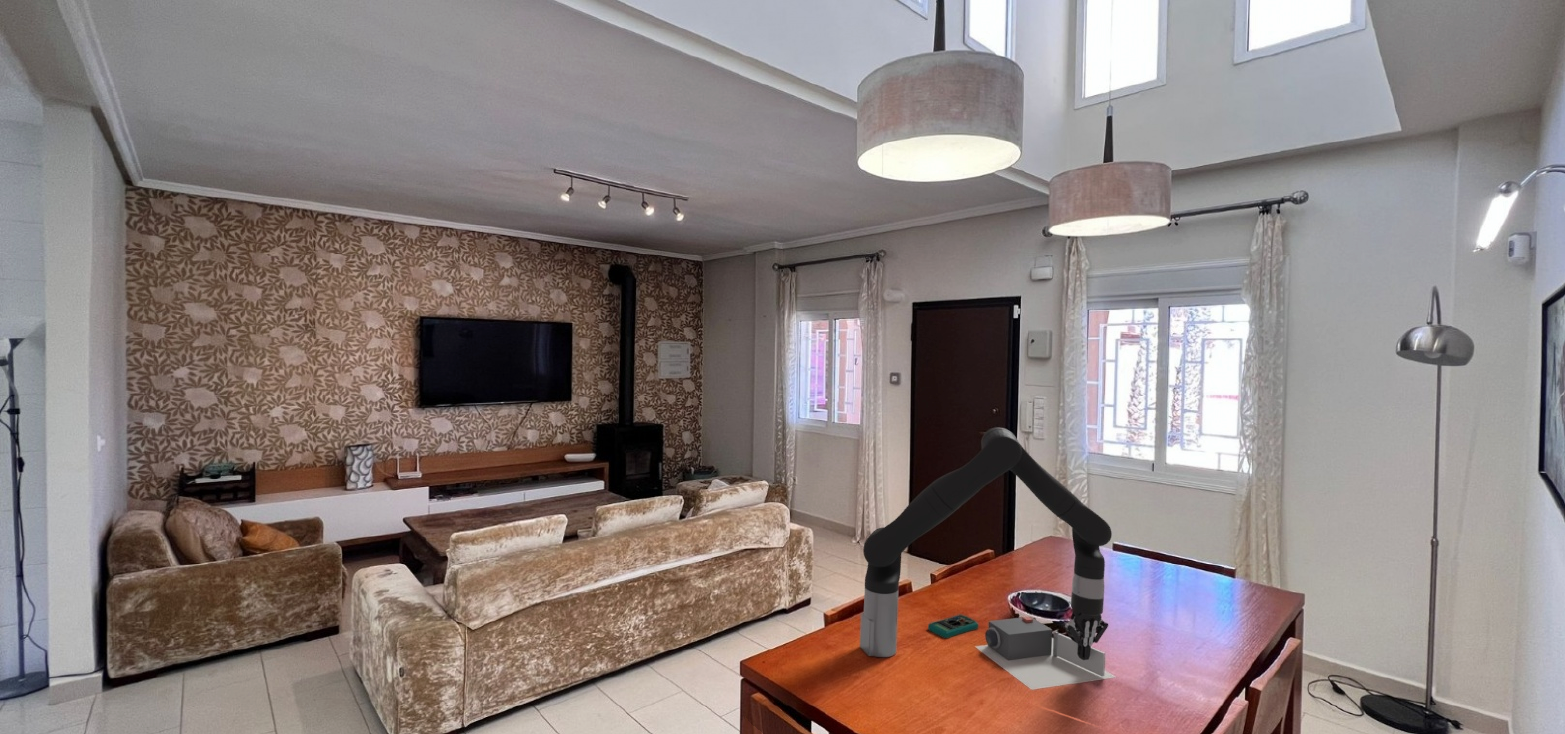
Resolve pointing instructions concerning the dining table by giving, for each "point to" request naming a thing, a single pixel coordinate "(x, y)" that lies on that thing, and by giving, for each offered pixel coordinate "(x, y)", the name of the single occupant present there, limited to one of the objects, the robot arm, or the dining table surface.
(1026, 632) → the camera body
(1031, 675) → the mat
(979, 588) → the dining table surface
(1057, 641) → the side door
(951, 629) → the digital multimeter
